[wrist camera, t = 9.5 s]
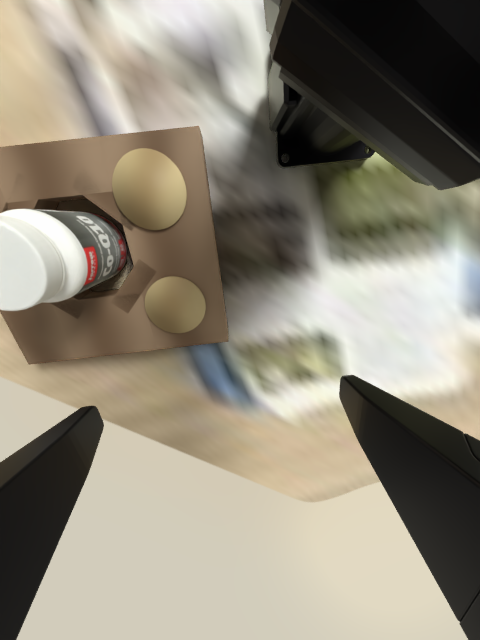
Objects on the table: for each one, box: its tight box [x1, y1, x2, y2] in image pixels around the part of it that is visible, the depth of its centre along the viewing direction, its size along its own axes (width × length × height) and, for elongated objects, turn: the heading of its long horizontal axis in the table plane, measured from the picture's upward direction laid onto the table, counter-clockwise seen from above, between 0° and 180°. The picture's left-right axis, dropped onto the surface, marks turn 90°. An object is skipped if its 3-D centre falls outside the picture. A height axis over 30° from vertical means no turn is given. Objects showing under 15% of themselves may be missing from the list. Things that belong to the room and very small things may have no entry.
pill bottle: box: [0, 209, 127, 311], centre depth 14 cm, size 5×5×8 cm
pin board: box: [0, 126, 228, 364], centre depth 17 cm, size 16×14×2 cm
